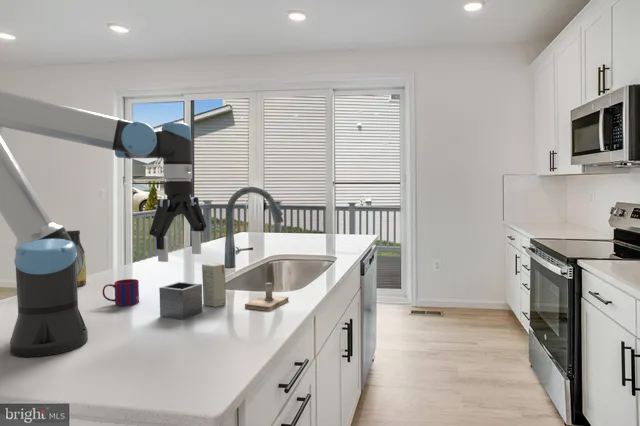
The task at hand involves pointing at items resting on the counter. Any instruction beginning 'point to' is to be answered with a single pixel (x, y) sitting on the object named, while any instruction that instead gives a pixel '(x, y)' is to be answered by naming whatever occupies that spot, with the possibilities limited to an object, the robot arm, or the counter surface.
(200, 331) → the counter surface
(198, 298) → the hollow grey cube box
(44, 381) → the counter surface
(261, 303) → the block
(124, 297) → the mug
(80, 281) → the sauce bottle
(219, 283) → the skincare box
